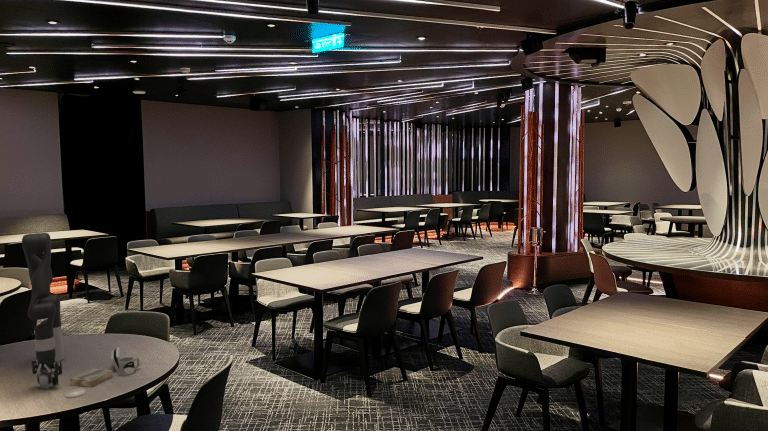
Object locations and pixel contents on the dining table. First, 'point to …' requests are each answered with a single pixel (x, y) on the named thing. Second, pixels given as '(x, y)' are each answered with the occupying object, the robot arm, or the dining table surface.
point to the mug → (127, 366)
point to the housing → (46, 380)
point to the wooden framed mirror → (91, 377)
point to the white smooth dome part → (75, 393)
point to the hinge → (117, 356)
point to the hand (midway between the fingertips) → (48, 383)
